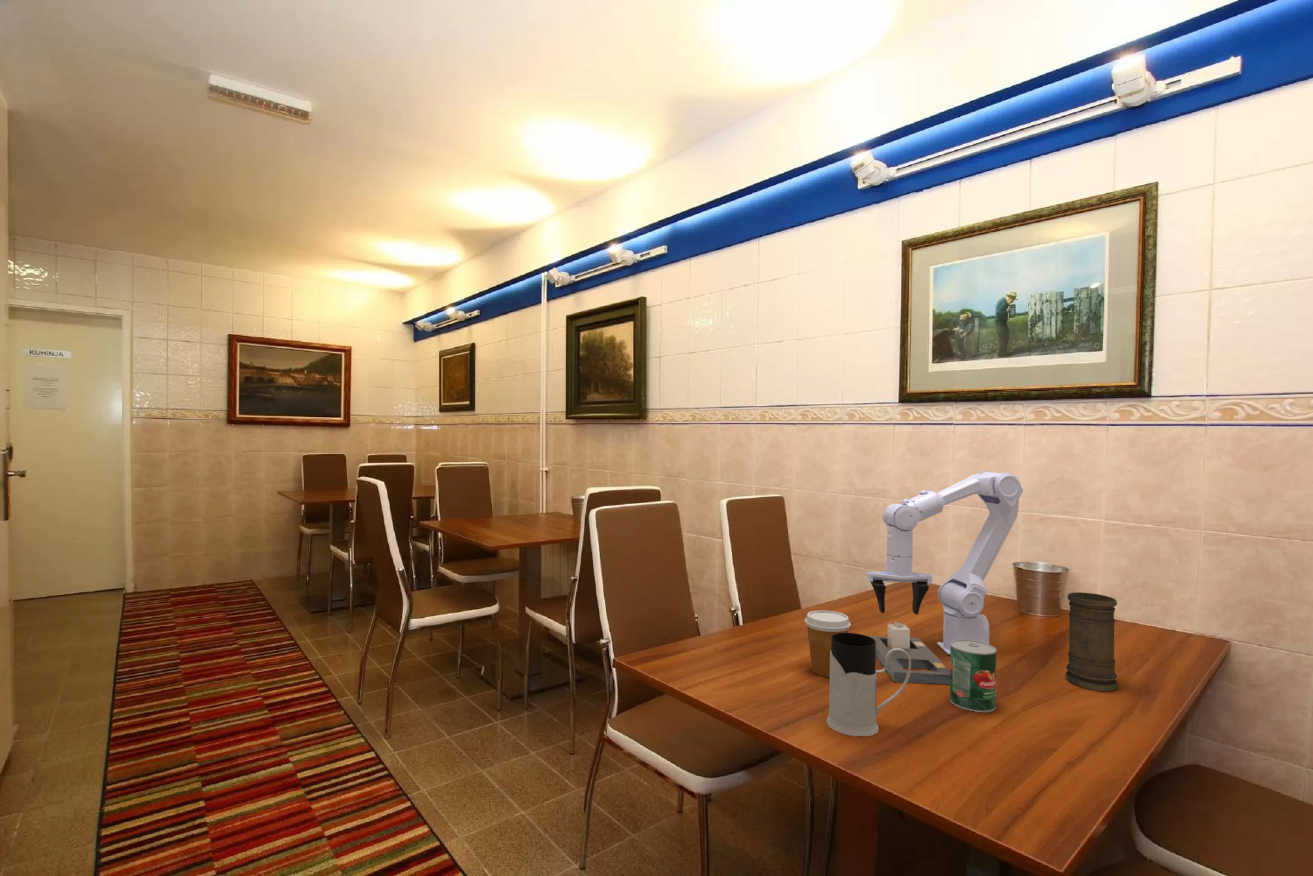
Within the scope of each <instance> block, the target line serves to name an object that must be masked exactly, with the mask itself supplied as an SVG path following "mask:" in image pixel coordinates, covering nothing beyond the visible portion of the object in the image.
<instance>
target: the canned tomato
mask: <svg viewBox="0 0 1313 876" xmlns="http://www.w3.org/2000/svg"><path fill="white" fill-rule="evenodd" d="M950 645H951V648H950V655H949V657H950V658H949V659H950V660H949V662H950V663H949V670H950V685H949V701H950V703H951V704H952V705H953V704H954V705H953V706H955V707H956V708H959V709H961V708H962V709H961V710H964V709H965V710H964V711H967V710H969V711H968V712H972V711H975V712H974V713H979V712H981V713H980V714H982V712H983V714H986V713H992V712H994V711H995V710H996V709H997V707H996V703H997V701H996V700H997V696H996V695H997V693H996V691H997V683H996V682H997V680H996V679H997V648H996V647H995V646H993V645H992V644H990V643H989V644H987V643H984V642H979V641H974V640H954V641H952V642H951V643H950Z"/></svg>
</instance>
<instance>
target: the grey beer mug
mask: <svg viewBox="0 0 1313 876" xmlns="http://www.w3.org/2000/svg"><path fill="white" fill-rule="evenodd" d="M869 636H870V635H865V634H860V633H853V632H848V633H838V634H834V635H832V637H831V651H830V677H829V700H828V701H829V703H828V704H829V710H828V711H829V712H828V716H827V718H826V724H827V726H828V727H829V728H831V730H833V731H834V732H837V733H839V734H842V735H846V736H851V737H857V736H865V737H870V736H871V737H872V736H873V735H876V734H877V733H878V732H879V730H880V729H879V728H880V727H879V725H878V723H877V721H878V720H877V717H878V714H879V712H880V710H881V709H882V708H884V707H885V706H886V705H888V704H889V703H890V702H892V701H893V700H894V699H895V698H897V697H898V696H899V695H900V694H901V693H902V692H903V691H904V689H905V688H906V686H907V684H908V683H907V682H908V680H909V677H910V673H911V670H912V668H911V658H910V656H909V654H908V653H907V652H906V651H905V650H903V649H900V648H894V649H891V650H890V651H888V653H887V654H886V656H885V660H884V667H883V668H882V669H877V668H876V667H877V666H876V663H877V661H876V659H877V657H876V641H875V640H874V639H873V638H871V637H869ZM894 651H902V652H904V653H905V654H906V655H907V656H908V661H909V666H908V668H907V670H908V673H907V676H906V679H905V681H904V682H902V684H901V686H900V688H899V689H898V690H897V691H895V693H894V694H892V695H891V696H890V697H889V698H887V699H886V700H884V701H883V702H882V703H880V704H879V705H878V706H877V674H882V673H884V672H885V671H886V668H887V660H888V657H889V655H890V654H891V653H892V652H894ZM886 672H887V671H886Z"/></svg>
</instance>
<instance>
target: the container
mask: <svg viewBox="0 0 1313 876" xmlns="http://www.w3.org/2000/svg"><path fill="white" fill-rule="evenodd" d="M1067 599H1068V601H1069V602H1068V605H1069V613H1068V616H1069V621H1068V622H1069V626H1068V627H1069V628H1068V629H1069V638H1068V639H1069V643H1068V645H1069V646H1068V653H1067V655H1068V664H1067V665H1066V667H1065V668H1066V670H1067V671H1066V672H1065V677H1066V680H1067V681H1068V683H1069V682H1070V684H1071V683H1072V684H1073V685H1074V686H1077V687H1080V688H1083V689H1087V690H1091V691H1097V692H1113V691H1115V690H1117V689H1118V686H1119V684H1118V681H1117V678H1118V676H1117V674H1116V672H1115V664H1116V660H1115V622H1116V620H1115V611H1116V608H1115V607H1116V606H1117V605H1118V602H1117V599H1115V598H1114V597H1112V596H1108V595H1103V594H1099V593H1092V592H1082V591H1080V592H1079V591H1077V592H1075V591H1073V592H1070V593H1068V595H1067Z"/></svg>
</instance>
